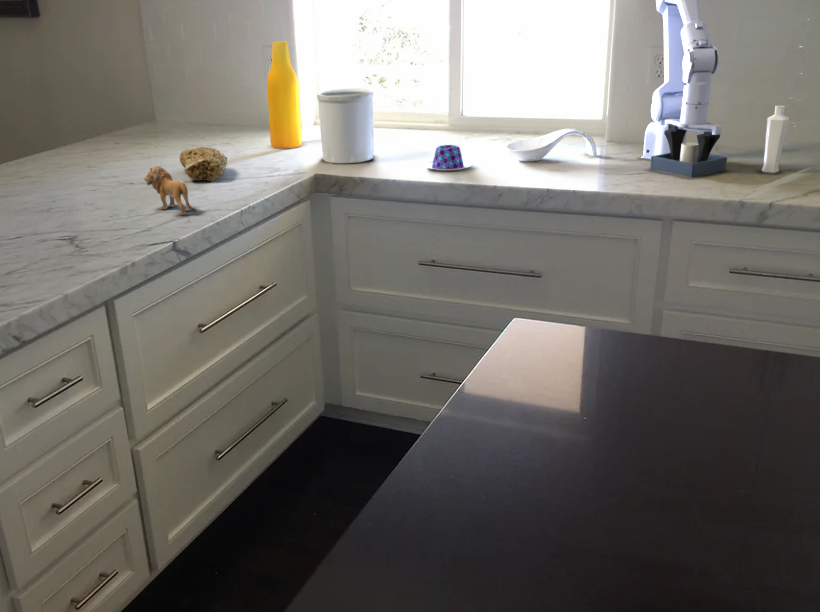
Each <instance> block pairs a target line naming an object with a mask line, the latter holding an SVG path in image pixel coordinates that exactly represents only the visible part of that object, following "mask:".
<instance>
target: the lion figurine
mask: <svg viewBox="0 0 820 612" xmlns="http://www.w3.org/2000/svg"><path fill="white" fill-rule="evenodd" d="M143 180H144V182H146V185H147V186H151V187H152V188H153V189H154V190H156V193H157V194H159V196H160V200H161V203H162V205H161V206H160V210H166V209H168V203H167V196H169V207H170V208H173V207H176V204H177V205H178V207H179V208H180V211H179V216H184V215H186V214H187V213H186V211H187V212H188V211H191V212H192V213H198V210H196V209H195V208H193V207H192V205H190V202H189V189H188V187H187V184H186V183H185V182H184V181H183V180H174V179H173V177H172V175H171V174H170V172H168V171H167V170H166V169H165V168H162V167H161V166H158V165H153V166H150V167H149V172H147V174H146V175H145V177H144V178H143ZM181 197H183V200H184V202H185V204H184V203H183V202H182V198H181Z"/></svg>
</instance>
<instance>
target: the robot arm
mask: <svg viewBox="0 0 820 612" xmlns="http://www.w3.org/2000/svg"><path fill="white" fill-rule="evenodd" d="M655 5H656V11H657V12H658V13H659V14H661V15H662V21H663V72H664V73H663V75H664V76H663V77H664V78H663V79H664V80H663V81H664V82H663V83H662V84H661V85H660V86H659V87H658V88H656V89H655V90H654V92H653V94H652V103H651V108H650V114H651V116H650V117H651V119H652V120H653V121H651V122H650V123H649V124H647V127H646V129H645V133H644V143H643V153H642V155H641V159H649V160H651V156H656V155H661V154H666V153H671V159H672V160H678V159H679V158H680V152H681V144H682V143H686V142H687V134H688V131H689V132H690V131H691V132H697V133H701V134H696V139H697V143H698V162H702V161H707V159H708V157H709V154H711V152H712V150H713V148H714V146H715V145H716V144H717V142H718V140H719V139H720V138H721V135H722V131H723V125H721V124H715V123H712V122H708V121H707V119H708V112H709V105H710V104H709V103H710V94H711V87H712V80H713V75H714V74H715V73H716V71H717V69H718V65H719V49H718V47H716V46H715V44H714V43H711V39H710V35H709V29H708V25H707V23H706V22H705V21H703V20H702V19H701V11H700V0H655Z"/></svg>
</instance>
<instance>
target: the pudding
mask: <svg viewBox="0 0 820 612" xmlns="http://www.w3.org/2000/svg"><path fill="white" fill-rule="evenodd" d="M472 165H473V163H471V162H470V161H466V160H463V155H462V151H461V147H460V146H459V145H455V144H443V145H442V144H441V145H438V146H437V147H436V148H435V152H434V156H433V160H432V161H428V162H425V163H424V164H423V166H424V167H425V168H427V169H431V170H435V171H441V172H453V171H454V172H455V171H461V170H463V169H467V168H469V167H471V166H472Z"/></svg>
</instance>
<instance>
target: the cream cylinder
mask: <svg viewBox="0 0 820 612" xmlns="http://www.w3.org/2000/svg"><path fill="white" fill-rule="evenodd" d="M680 161H682V162H688V163H697V161H698V142H694V141H693V142H690V141H689V142H687V141H686V143H682V144H681V152H680Z"/></svg>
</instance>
